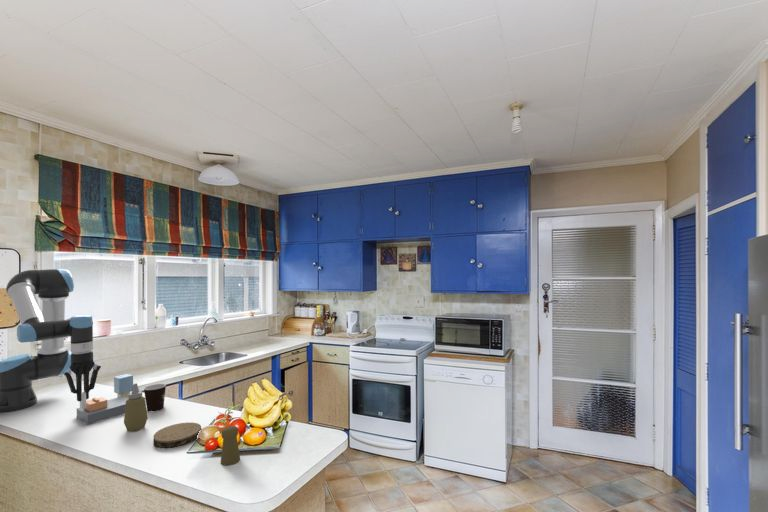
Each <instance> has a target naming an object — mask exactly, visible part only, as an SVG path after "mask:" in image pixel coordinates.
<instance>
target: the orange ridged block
mask: <svg viewBox="0 0 768 512" xmlns="http://www.w3.org/2000/svg"><path fill="white" fill-rule="evenodd" d="M107 400H108V399H106V398H104V397H97V398H96V397H93V398H91V399H88V400H86V408H85V409H86V410H88V411H90V412H91V411H94V410H98V409H101V408H105V407H108V405H107Z"/></svg>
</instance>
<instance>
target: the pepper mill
mask: <svg viewBox="0 0 768 512" xmlns="http://www.w3.org/2000/svg"><path fill="white" fill-rule="evenodd" d="M220 435H221V438H222V447H221V453H220V454H221V456H220V465H221V466H224V467H225V466H232V465H233V466H234V465H235V464H237V463H239V462H240V460H241V455H240V449H239V443H238V435H239V428H238V427H237V426H235V425H228V426H225V427H223V429H222V430H221V433H220Z"/></svg>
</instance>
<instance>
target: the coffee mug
mask: <svg viewBox="0 0 768 512" xmlns="http://www.w3.org/2000/svg"><path fill="white" fill-rule="evenodd" d="M166 388H167V385H166V384H165V383H155V384H154V383H153V384H151V385H147V386H145V387H143V391H144V392H143V393H144V397H145V402H146V409H147V412H149V411H154V412H157V411H158V410H159V411H161V410H163V409H164V408H165V407H164V406H165V395H166Z"/></svg>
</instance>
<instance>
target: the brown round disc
mask: <svg viewBox="0 0 768 512" xmlns="http://www.w3.org/2000/svg"><path fill="white" fill-rule="evenodd" d="M201 425H202V424H200V423H197V422H179V423H176V424H171V425H168V426H166V427H163V428H161V429H159V430H157V431H156V432H155V433H154V434H153V446H154V447H155V448H157V449H161V450H162V449H165V450H167V449H176V448H180V447H184V446H186V445H190V444H192V443H194V442H195V441H197V440H198V439H197V435H198V433H199V431H200V430H201V431H202V426H201ZM196 439H197V440H196Z"/></svg>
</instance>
